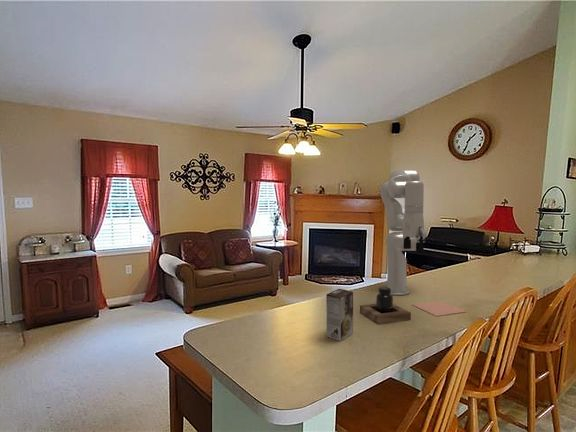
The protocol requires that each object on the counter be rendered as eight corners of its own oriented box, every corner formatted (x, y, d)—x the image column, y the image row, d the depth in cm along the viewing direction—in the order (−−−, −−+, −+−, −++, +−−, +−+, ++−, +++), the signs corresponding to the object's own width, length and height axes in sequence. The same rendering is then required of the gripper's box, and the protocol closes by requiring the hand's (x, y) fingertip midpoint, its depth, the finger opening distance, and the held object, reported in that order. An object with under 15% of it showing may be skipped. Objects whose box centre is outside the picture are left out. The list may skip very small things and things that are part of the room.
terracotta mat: (411, 305, 163) (411, 304, 163) (439, 301, 168) (439, 300, 168) (436, 316, 148) (436, 315, 148) (466, 312, 153) (466, 311, 153)
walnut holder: (359, 312, 154) (359, 305, 154) (389, 308, 159) (389, 301, 158) (378, 324, 140) (378, 316, 139) (410, 319, 144) (410, 312, 144)
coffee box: (338, 329, 135) (338, 288, 134) (353, 333, 131) (353, 291, 130) (325, 337, 128) (325, 293, 127) (341, 341, 124) (341, 296, 123)
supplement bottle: (393, 319, 145) (393, 290, 144) (376, 318, 146) (376, 290, 146) (391, 313, 152) (392, 286, 151) (375, 312, 153) (376, 285, 152)
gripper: (395, 209, 156) (395, 247, 157) (417, 211, 139) (416, 254, 140) (410, 209, 158) (410, 247, 159) (434, 210, 141) (433, 253, 142)
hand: (413, 250), depth 149 cm, fingers open, 9 cm apart
